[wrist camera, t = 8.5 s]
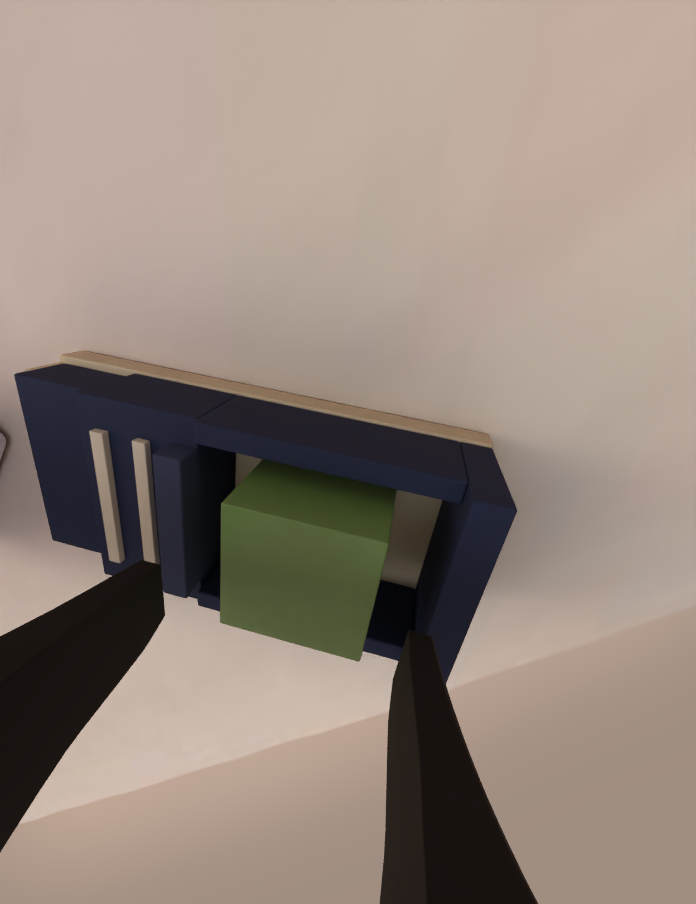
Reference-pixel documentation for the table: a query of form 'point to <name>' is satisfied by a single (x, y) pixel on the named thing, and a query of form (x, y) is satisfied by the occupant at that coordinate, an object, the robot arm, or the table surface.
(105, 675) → the robot arm
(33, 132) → the table surface
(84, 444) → the navy slotted organizer
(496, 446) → the table surface
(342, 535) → the green cube
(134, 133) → the table surface
